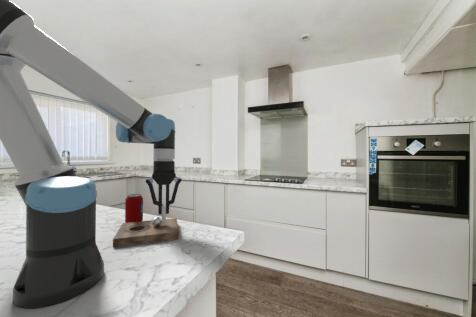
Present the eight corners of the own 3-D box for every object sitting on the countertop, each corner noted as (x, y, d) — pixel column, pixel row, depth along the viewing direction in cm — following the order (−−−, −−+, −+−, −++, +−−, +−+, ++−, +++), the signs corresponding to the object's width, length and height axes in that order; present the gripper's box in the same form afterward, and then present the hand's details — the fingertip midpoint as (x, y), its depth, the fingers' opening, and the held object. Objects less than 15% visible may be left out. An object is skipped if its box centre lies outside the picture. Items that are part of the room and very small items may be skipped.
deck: (176, 224, 85) (176, 218, 85) (178, 238, 70) (178, 231, 70) (122, 229, 78) (122, 222, 78) (112, 246, 63) (112, 239, 63)
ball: (160, 217, 73) (150, 220, 72) (162, 226, 74) (152, 229, 72) (160, 214, 77) (151, 217, 76) (162, 223, 77) (153, 226, 76)
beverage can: (146, 222, 86) (146, 194, 86) (130, 226, 81) (131, 197, 81) (137, 219, 90) (137, 193, 90) (121, 223, 84) (122, 195, 84)
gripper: (181, 160, 81) (180, 218, 81) (146, 160, 76) (145, 221, 77) (182, 160, 74) (182, 224, 74) (144, 160, 69) (143, 227, 70)
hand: (163, 222), depth 75 cm, fingers closed
